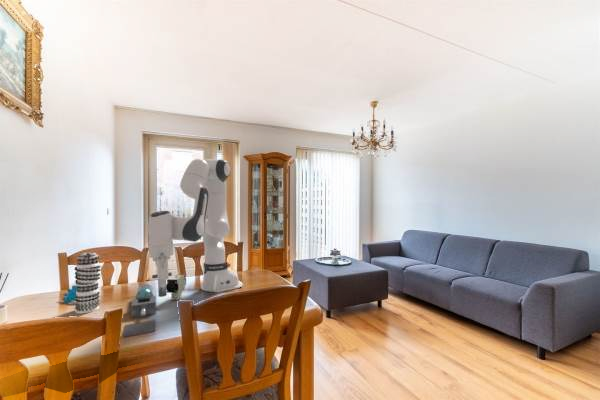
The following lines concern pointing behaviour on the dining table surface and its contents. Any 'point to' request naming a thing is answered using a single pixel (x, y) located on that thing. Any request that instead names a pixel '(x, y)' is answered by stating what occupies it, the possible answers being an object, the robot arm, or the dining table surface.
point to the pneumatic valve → (176, 286)
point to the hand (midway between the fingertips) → (162, 285)
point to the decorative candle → (87, 282)
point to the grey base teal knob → (143, 302)
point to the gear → (70, 295)
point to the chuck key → (161, 290)
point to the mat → (139, 328)
